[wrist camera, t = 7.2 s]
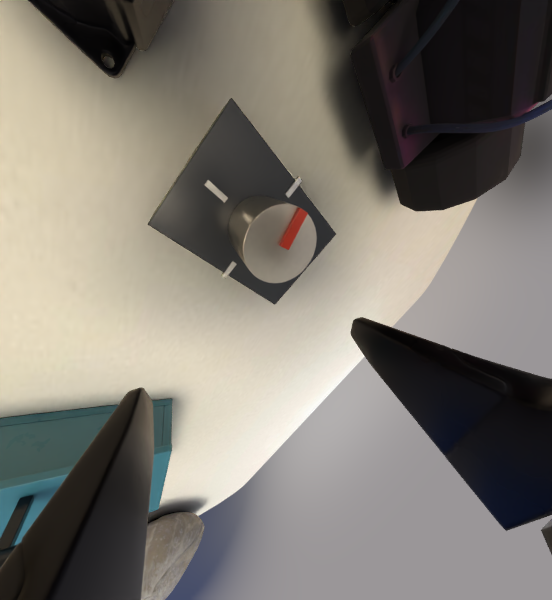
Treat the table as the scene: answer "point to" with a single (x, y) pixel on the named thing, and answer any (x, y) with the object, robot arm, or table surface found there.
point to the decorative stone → (169, 552)
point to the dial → (272, 238)
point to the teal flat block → (63, 437)
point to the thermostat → (230, 197)
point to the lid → (39, 490)
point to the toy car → (452, 90)
